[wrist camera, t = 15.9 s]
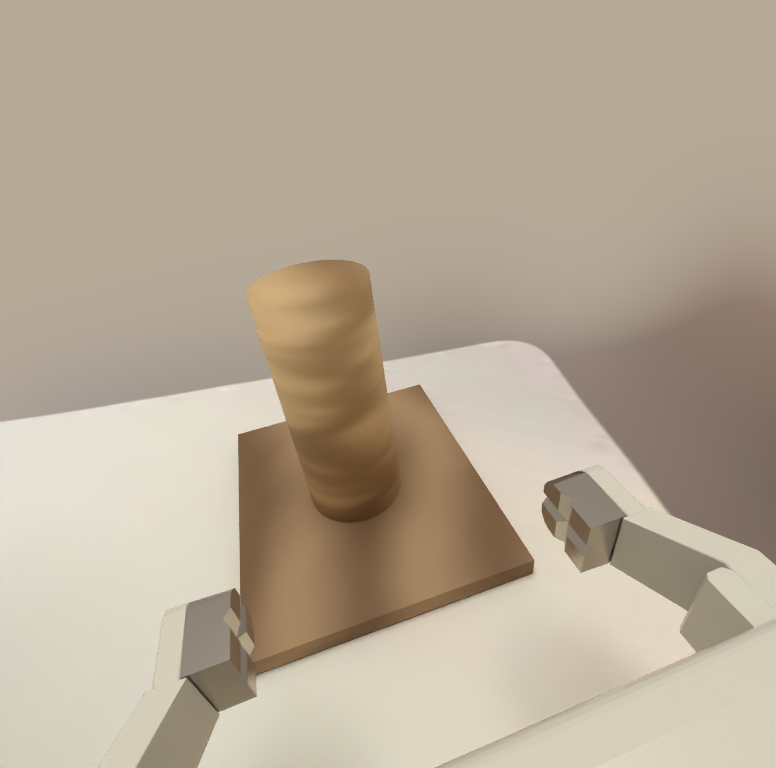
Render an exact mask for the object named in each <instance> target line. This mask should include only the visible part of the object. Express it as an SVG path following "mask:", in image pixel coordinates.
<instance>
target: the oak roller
mask: <svg viewBox="0 0 776 768" xmlns="http://www.w3.org/2000/svg"><path fill="white" fill-rule="evenodd" d="M246 299H247V302H248V305H249V308H250V311H251V314H252V317H253V320H254V323H255V326H256V329H257V332H258V335H259V339H260V341H261V344H262V348H263V351H264V354H265V357H266V360H267V363H268V366H269V369H270V372H271V375H272V378H273V381H274V384H275V388H276V391H277V394H278V397H279V400H280V403H281V406H282V409H283V412H284V415H285V418H286V421H287V424H288V427H289V430H290V433H291V436H292V439H293V443H294V446H295V449H296V452H297V455H298V458H299V461H300V464H301V467H302V470H303V473H304V476H305V479H306V482H307V485H308V488H309V491H310V494H311V498H312V501H313V503H314V505H315V507H316V509H317V510H318V511H319V512H320V513H321V514H322V515H324V516H325V517H327V518H329V519H331V520H334V521H338V522H347V523H350V522H360V521H364V520H367V519H370V518H373V517H375V516H377V515H378V514H380V513H382V512H383V511H384V510H386V509H387V508H388V507H389V506H390V505H391V504H392V503H393V501H394V500H395V498H396V497H397V495H398V492H399V489H400V475H399V468H398V462H397V455H396V448H395V442H394V435H393V428H392V422H391V415H390V408H389V402H388V395H387V388H386V382H385V375H384V368H383V362H382V355H381V348H380V342H379V335H378V328H377V322H376V315H375V308H374V302H373V296H372V288H371V282H370V275H369V271H368V269H367V268H366V267H365V266H363V265H361V264H359V263H355V262H352V261H344V260H322V261H313V262H307V263H301V264H297V265H293V266H289V267H286V268H283V269H280V270H277V271H274V272H272V273H270V274H268V275H266V276H264V277H262V278H260V279H259V280H257V281H256V282H254V283H253V284H252V285H251V286H250V287H249V288H248V290H247V292H246Z"/></svg>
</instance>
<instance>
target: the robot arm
mask: <svg viewBox="0 0 776 768" xmlns="http://www.w3.org/2000/svg"><path fill="white" fill-rule="evenodd" d="M544 493H545V494H546V496H547V498H546V499H545V500H544V502H543V503H542V514H543V518H544V521H545V523H546V525H547V527H548V529H549V530H550V532H551V533H552V535H553V536H554V537H555V538H557V539H559V540H561V541H563V542H565V552H566V554H567V555H568V556H569V558H570V559H571V560H572V562H573V563H574V564H575V566H576V567H577V568H578V570H579V571H580V572H581V573H582V572H584V571H587V570H590V569H593V568H596V567H599V566H602V565H604V564H607V563H610V562H611V563H610V564H611V565H612V566H614V567H616V568H617V569H619V570H621V571H622V572H624V573H626V574H627V575H629V576H631V577H632V578H634V579H635V580H637V581H639V582H640V583H642V584H644V585H645V586H647V587H649V588H650V589H652V590H654V591H655V592H657V593H659V594H660V595H662V596H664V597H665V598H667V599H669V600H670V601H672V602H674V603H675V604H677V605H679V606H680V607H682V608H684V609H685V610H687V611H688V612H687V614H686V616H685V618H684V620H683V622H682V624H681V627H680V633H681V634H682V635H683V637H684V638H685V639H686V640H687V641H688V643H689V644H690V645H691V646H692V647H693V649H694V650H695V651H696V652H697V653H695V654H693V655H690V656H688V657H686V658H684V659H681V660H679V661H677V662H675V663H672V664H670V665H668V666H665V667H663V668H661V669H659V670H656V671H654V672H652V673H649V674H647V675H645V676H643V677H640V678H638V679H636V680H634V681H631V682H629V683H627V684H624V685H622V686H620V687H618V688H615V689H613V690H611V691H608V692H606V693H604V694H602V695H599V696H597V697H595V698H592V699H590V700H588V701H586V702H583V703H581V704H579V705H577V706H574V707H572V708H570V709H567V710H565V711H563V712H561V713H558V714H556V715H554V716H551V717H549V718H547V719H545V720H542V721H540V722H538V723H535V724H533V725H531V726H529V727H526V728H524V729H522V730H520V731H517V732H515V733H513V734H510V735H508V736H506V737H504V738H501V739H499V740H497V741H494V742H492V743H490V744H488V745H485V746H483V747H481V748H479V749H476V750H474V751H472V752H469V753H467V754H465V755H463V756H460V757H458V758H456V759H453V760H451V761H449V762H447V763H444V764H442V765H440V766H437V767H435V768H776V565H775V564H773V563H772V562H771V561H770V560H769V559H767V558H766V557H765V556H764V555H763V554H762V553H761V552H759V551H758V550H755V549H753V548H750V547H748V546H745V545H743V544H740V543H738V542H735V541H733V540H730V539H728V538H725V537H723V536H720V535H718V534H715V533H713V532H710V531H708V530H705V529H703V528H700V527H698V526H695V525H693V524H690V523H688V522H686V521H683V520H680V519H678V518H676V517H673V516H671V515H668V514H666V513H663V512H661V511H658V510H656V509H653V508H649V509H645V508H644V507H643V506H642V505H641V504H640V503H639V502H638V501H637V500H636V499H635V498H634V497H633V496H632V495H631V494H630V493H629V492H628V491H627V490H626V489H625V488H624V487H623V486H622V485H621V484H620V483H619V482H618V481H617V480H616V479H615V478H613V477H612V476H611V475H610V474H609V473H608V472H607V471H606V470H605V469H604V468H603V467H601V466H599V465H596V466H593V467H590V468H587V469H584V470H582V471H577V472H574V473H571V474H568V475H566V476H563V477H560V478H557V479H554V480H552V481H549V482H547V483H546V484H545V485H544ZM254 646H255V640H254V629H253V624H252V619H251V616H250V613H249V611H248V609H247V607H246V606H245V605H241V604H240V595H239V594H238V592H237V591H236V589H235V588H234V589H231V590H228V591H225V592H221V593H218V594H215V595H212V596H209V597H206V598H203V599H200V600H197V601H194V602H190V603H187V604H184V605H181V606H178V607H175V608H172V609H169V610H166V612H165V614H164V616H163V619H162V624H161V631H160V639H159V646H158V653H157V660H156V667H155V674H154V682H153V689H152V690H150V691H147V692H145V694H144V695H143V697H142V698H141V700H140V701H139V703H138V705H137V706H136V708H135V709H134V711H133V713H132V714H131V716H130V717H129V719H128V720H127V722H126V724H125V725H124V727H123V728H122V730H121V732H120V733H119V735H118V736H117V738H116V739H115V741H114V743H113V744H112V746H111V747H110V749H109V751H108V752H107V754H106V755H105V757H104V758H103V760H102V762H101V763H100V765H99V766H98V768H197V767H198V764H199V762H200V760H201V757H202V755H203V752H204V750H205V748H206V745H207V743H208V741H209V738H210V736H211V733H212V731H213V729H214V726H215V724H216V722H217V719H218V717H219V713H218V712H220V711H223V710H225V709H228V708H230V707H232V706H235V705H237V704H240V703H242V702H245V701H247V700H249V699H252V698H254V697H257V692H256V665H255V664H254V662H253V661H252V659H251V658H250V654H251V652H252V650H253V648H254Z"/></svg>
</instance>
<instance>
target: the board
mask: <svg viewBox="0 0 776 768" xmlns="http://www.w3.org/2000/svg"><path fill="white" fill-rule="evenodd" d="M387 395H388V402H389V408H390V415H391V422H392V428H393V435H394V442H395V448H396V455H397V462H398V468H399V475H400V489H399V492H398V495H397V497H396V498H395V500H394V501H393V503H392V504H391V505H390V506H389V507H388V508H387V509H386V510H384V511H383V512H382V513H380V514H378V515H377V516H375V517H373V518H370V519H367V520H364V521H360V522H350V523H347V522H338V521H334V520H331V519H329V518H327V517H325V516H324V515H322V514H321V513H320V512H319V511H318V510H317V509H316V507H315V505H314V503H313V501H312V498H311V494H310V491H309V488H308V485H307V482H306V479H305V476H304V473H303V470H302V467H301V464H300V461H299V458H298V455H297V452H296V449H295V446H294V443H293V439H292V436H291V433H290V430H289V427H288V424H287V421H286V422H282V423H278V424H275V425H271V426H267V427H264V428H260V429H256V430H253V431H249V432H246V433H242V434H238V455H239V529H240V604H241V605H245V606H246V607H247V609H248V611H249V613H250V616H251V619H252V624H253V629H254V640H255V646H254V648H253V650H252V652H251V654H250V658H251V659H252V661H253V662H254V664H255V665H256V675H257V674H260V673H262V672H265V671H268V670H271V669H273V668H276V667H279V666H281V665H284V664H287V663H290V662H292V661H295V660H298V659H300V658H303V657H306V656H309V655H311V654H314V653H317V652H319V651H322V650H325V649H328V648H330V647H333V646H336V645H338V644H341V643H344V642H347V641H349V640H352V639H355V638H357V637H360V636H363V635H366V634H368V633H371V632H374V631H376V630H379V629H382V628H385V627H387V626H390V625H393V624H395V623H398V622H401V621H403V620H406V619H409V618H412V617H414V616H417V615H420V614H422V613H425V612H428V611H431V610H433V609H436V608H439V607H441V606H444V605H447V604H450V603H452V602H455V601H458V600H460V599H463V598H466V597H469V596H471V595H474V594H477V593H479V592H482V591H485V590H488V589H490V588H493V587H496V586H498V585H501V584H504V583H507V582H509V581H512V580H515V579H517V578H520V577H523V576H526V575H528V574H531V573H533V566H534V559H533V558H532V556H531V555H530V553H529V551H528V550H527V548H526V547H525V545H524V544H523V542H522V541H521V539H520V538H519V536H518V535H517V533H516V532H515V530H514V528H513V527H512V525H511V524H510V522H509V521H508V519H507V518H506V516H505V515H504V513H503V512H502V510H501V509H500V507H499V505H498V504H497V502H496V501H495V499H494V498H493V496H492V495H491V493H490V492H489V490H488V489H487V487H486V486H485V484H484V482H483V481H482V479H481V478H480V476H479V475H478V473H477V472H476V470H475V469H474V467H473V466H472V464H471V463H470V461H469V459H468V458H467V456H466V455H465V453H464V452H463V450H462V449H461V447H460V446H459V444H458V443H457V441H456V440H455V438H454V436H453V435H452V433H451V432H450V430H449V429H448V427H447V426H446V424H445V423H444V421H443V420H442V418H441V417H440V415H439V413H438V412H437V410H436V409H435V407H434V406H433V404H432V403H431V401H430V400H429V398H428V397H427V395H426V394H425V392H424V390H423V389H422V387H421V386H420V385H416V386H413V387H409V388H406V389H402V390H398V391H395V392H391V393H387Z"/></svg>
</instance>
